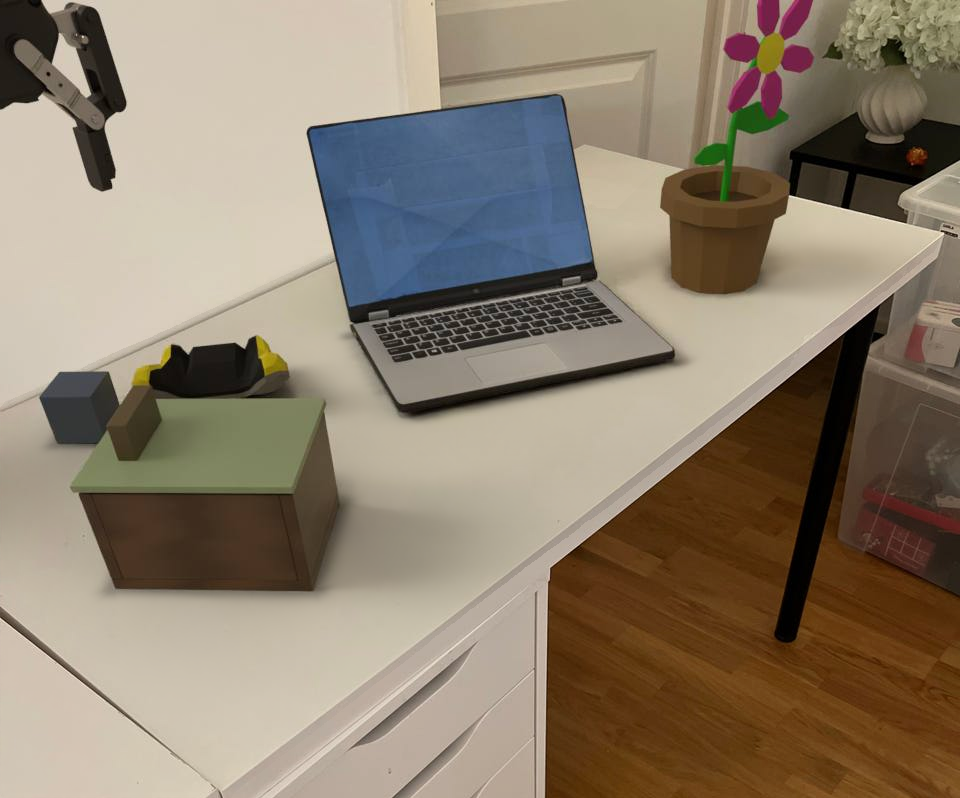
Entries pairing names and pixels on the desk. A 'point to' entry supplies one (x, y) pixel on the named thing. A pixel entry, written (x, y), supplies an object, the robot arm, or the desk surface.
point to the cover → (202, 445)
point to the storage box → (220, 533)
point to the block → (79, 406)
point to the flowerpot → (736, 169)
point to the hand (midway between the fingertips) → (42, 205)
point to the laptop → (471, 252)
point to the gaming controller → (215, 371)
